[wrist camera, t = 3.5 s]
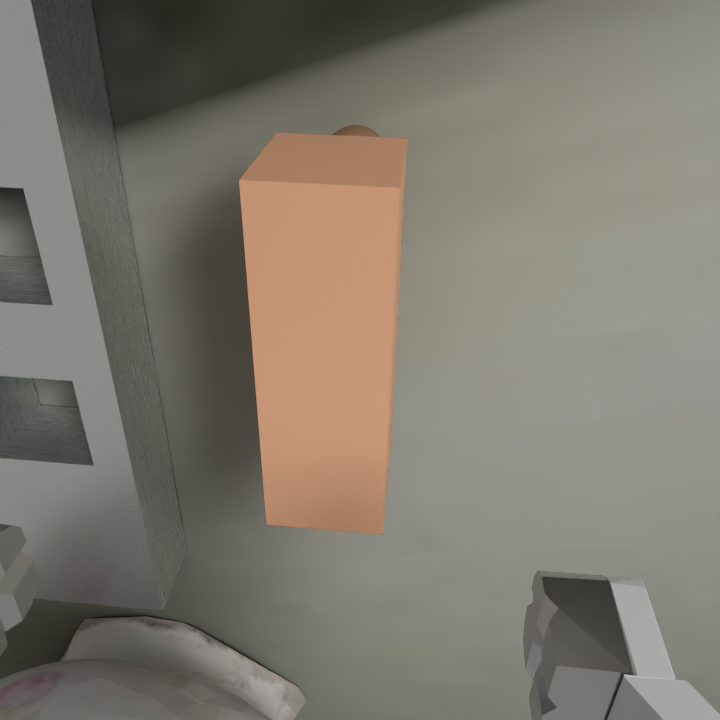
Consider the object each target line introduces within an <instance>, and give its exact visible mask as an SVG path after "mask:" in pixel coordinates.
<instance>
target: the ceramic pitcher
mask: <svg viewBox="0 0 720 720" xmlns="http://www.w3.org/2000/svg"><path fill="white" fill-rule="evenodd" d="M306 702H307V701H306V699H305V697H304V696H303V694H302V693H301V691H300V689H299V688H298V687H297V686H295V685H294V684H292V683H290V682H289V681H287V680H285V679H284V678H282V677H280V676H278V675H276V674H275V673H273V672H271V671H269V670H267V669H265V668H264V667H262V666H260V665H259V664H257V663H255V662H253V661H252V660H250V659H248V658H246V657H245V656H243V655H241V654H239V653H238V652H236V651H234V650H233V649H231V648H229V647H227V646H226V645H224V644H222V643H221V642H219V641H217V640H215V639H214V638H212V637H210V636H209V635H207V634H205V633H203V632H202V631H200V630H198V629H196V628H194V627H192V626H190V625H187V624H185V623H182V622H176V621H170V620H164V619H158V618H152V617H146V616H145V617H122V618H93V619H84V621H83V622H82V623H81V625H80V626H79V627H78V629H77V630H76V632H75V634H74V636H73V638H72V640H71V642H70V644H69V646H68V648H67V650H66V652H65V653H64V655H63V657H62V658H61V660H60V662H54V663H48V664H44V665H40V666H37V667H34V668H30V669H27V670H24V671H20V672H17V673H14V674H11V675H9V676H7V677H5V678H3V679H1V680H0V720H294V719H295V717H296V716H297V714H298V712H299V711H300V709H301V708H302V707H303V705H304V704H305V703H306Z"/></svg>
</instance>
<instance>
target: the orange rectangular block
mask: <svg viewBox="0 0 720 720" xmlns="http://www.w3.org/2000/svg"><path fill="white" fill-rule="evenodd" d="M406 155H407V138H387V137H380V136H379V135H378V134H377V133H375V132H374V131H373V130H371V129H369V128H367V127H364V126H358V125H352V126H347V127H344V128H342V129H340V130H338V131H337V132H336V133H335V134H334V135H318V134H295V133H276V134H275V135H274V137H273V138H272V139H271V140H270V142H269V143H268V144H267V145H266V147H265V148H264V149H263V151H262V152H261V153H260V154H259V156H258V157H257V158H256V159H255V161H254V162H253V163H252V164H251V166H250V167H249V168H248V169H247V171H246V172H245V173H244V174H243V176H242V177H241V178H240V179H239V187H240V199H241V212H242V224H243V237H244V249H245V262H246V274H247V287H248V300H249V312H250V325H251V337H252V350H253V362H254V375H255V387H256V400H257V413H258V425H259V438H260V450H261V463H262V475H263V488H264V501H265V513H266V525H277V526H289V527H300V528H312V529H324V530H335V531H347V532H359V533H370V534H382V535H383V525H384V514H385V503H386V492H387V481H388V471H389V460H390V449H391V432H392V413H393V395H394V377H395V358H396V340H397V321H398V303H399V284H400V266H401V247H402V229H403V210H404V192H405V173H406Z"/></svg>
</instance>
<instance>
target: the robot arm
mask: <svg viewBox="0 0 720 720" xmlns="http://www.w3.org/2000/svg"><path fill="white" fill-rule="evenodd" d="M26 542H27V541H26V539H25V536H24V534H23V531H22V529H21V527H18V526H13V525H6V524H0V657H1V655H2V654H3V652H4V650H5V649H6V647H7V645H8V644H7V637H6V631H7V630H9V629H10V628H12V627H13V626H15V625H16V624H18V623H19V622H21V621H22V620H23V619H24V617H25V615H26V614H27V612H28V610H29V609H30V607H31V605H32V603H33V599H34V595H35V592H36V588H37V571H36V567H35V564H34V561H33V560H32V559H30V558H29V557H28V556H27V555H26V554H25V553H23V552H22V551H21V549H22V548H23V546H24V545H25V543H26ZM532 592H533V599H534V602H533V603H532V604H530V605H529V606H527V611H526V616H525V622H524V637H523V642H524V658H525V667H526V671H527V672H528V673H529V674H530V675H531V677H532V678H533V679H534V680H533V685H532V689H531V693H530V697H529V701H530V708H531V716H532V720H720V714H719V713H718V712H717V711H716V710H715V709H714V708H713V707H712V706H711V705H710V704H709V703H708V702H707V701H706V700H705V699H704V698H703V697H702V696H701V695H700V694H699V693H698V692H697V691H696V690H695V689H694V688H693V687H692V686H691V685H690V684H689V683H688V682H687V681H684V680H677V679H675V676H674V672H673V669H672V666H671V663H670V660H669V657H668V654H667V651H666V648H665V645H664V642H663V639H662V636H661V633H660V630H659V627H658V624H657V621H656V617H655V614H654V611H653V608H652V605H651V602H650V599H649V596H648V593H647V590H646V587H645V585H644V583H643V582H642V581H641V580H640V579H633V578H622V577H610V576H605V577H604V576H602V575H590V574H577V573H564V572H551V571H537V573H536V574H535V576H534V580H533V584H532Z"/></svg>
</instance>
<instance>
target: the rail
mask: <svg viewBox="0 0 720 720" xmlns="http://www.w3.org/2000/svg"><path fill="white" fill-rule="evenodd" d="M0 187H8V188H23V190H24V194H25V197H26V201H27V205H28V209H29V213H30V217H31V221H32V225H33V229H34V233H35V237H36V241H37V245H38V248H39V252H40V256H41V259H38V258H21V257H4V256H0V524H6V525H13V526H18V527H21V529H22V531H23V534H24V536H25V539H26V541H27V542H26V543H25V545H24V546H23V548H22V549H21V551H22V552H23V553H25V554H26V555H27V556H28V557H29V558H30V559H32V560H33V561H34V564H35V567H36V571H37V588H36V592H35V595H34V599H43V600H53V601H64V602H74V603H84V604H95V605H105V606H115V607H126V608H136V609H147V610H157V611H163V609H164V607H165V604H166V602H167V599H168V597H169V594H170V592H171V589H172V587H173V584H174V582H175V579H176V577H177V574H178V572H179V569H180V567H181V565H182V562H183V560H184V557H185V555H186V552H187V550H186V544H185V538H184V533H183V527H182V521H181V515H180V510H179V504H178V498H177V492H176V487H175V481H174V475H173V469H172V463H171V458H170V452H169V446H168V440H167V435H166V429H165V423H164V417H163V412H162V406H161V400H160V394H159V389H158V383H157V377H156V371H155V365H154V360H153V354H152V348H151V342H150V337H149V331H148V325H147V319H146V314H145V308H144V302H143V296H142V291H141V285H140V279H139V273H138V268H137V262H136V256H135V250H134V244H133V239H132V233H131V227H130V221H129V216H128V210H127V204H126V198H125V193H124V187H123V181H122V175H121V170H120V164H119V158H118V152H117V147H116V141H115V135H114V129H113V123H112V118H111V112H110V106H109V100H108V95H107V89H106V83H105V77H104V72H103V66H102V60H101V54H100V49H99V43H98V37H97V31H96V26H95V20H94V14H93V8H92V2H91V0H0ZM32 378H37V379H51V380H65V381H72V382H73V386H74V390H75V394H76V397H77V401H78V405H79V408H73V407H59V406H46V405H40V403H39V400H38V396H37V393H36V389H35V386H34V382H33V379H32Z"/></svg>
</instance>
